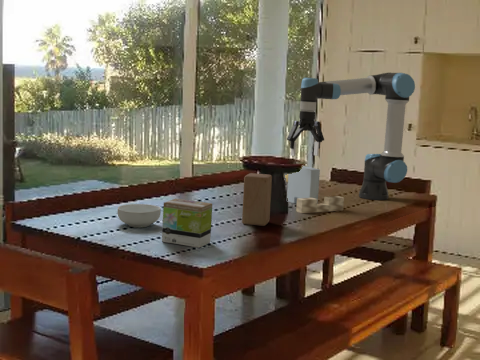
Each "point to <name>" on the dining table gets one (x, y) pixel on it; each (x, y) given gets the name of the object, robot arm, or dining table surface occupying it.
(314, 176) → the grey board
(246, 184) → the wooden block
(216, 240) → the dining table surface
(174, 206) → the tea box
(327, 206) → the maple rail
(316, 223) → the dining table surface
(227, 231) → the dining table surface
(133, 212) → the cereal bowl
